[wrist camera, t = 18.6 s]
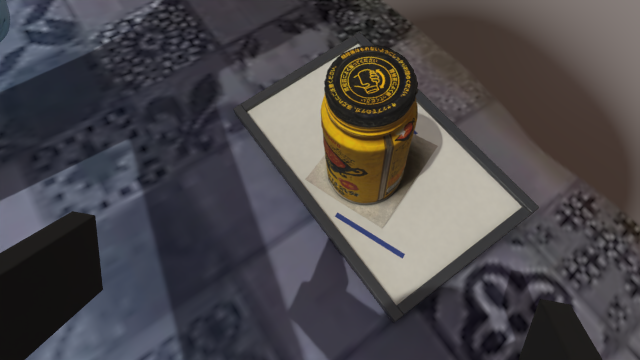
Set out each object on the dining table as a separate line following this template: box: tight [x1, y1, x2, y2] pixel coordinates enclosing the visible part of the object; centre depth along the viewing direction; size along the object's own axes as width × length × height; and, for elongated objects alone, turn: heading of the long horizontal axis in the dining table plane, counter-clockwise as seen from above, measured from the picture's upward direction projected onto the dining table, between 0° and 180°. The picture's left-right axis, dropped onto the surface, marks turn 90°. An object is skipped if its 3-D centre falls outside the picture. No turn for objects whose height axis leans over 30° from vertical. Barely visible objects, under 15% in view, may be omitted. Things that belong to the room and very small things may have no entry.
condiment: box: [305, 45, 438, 228], centre depth 29 cm, size 7×8×12 cm
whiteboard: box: [233, 32, 539, 323], centre depth 35 cm, size 22×14×1 cm, turn 36°
